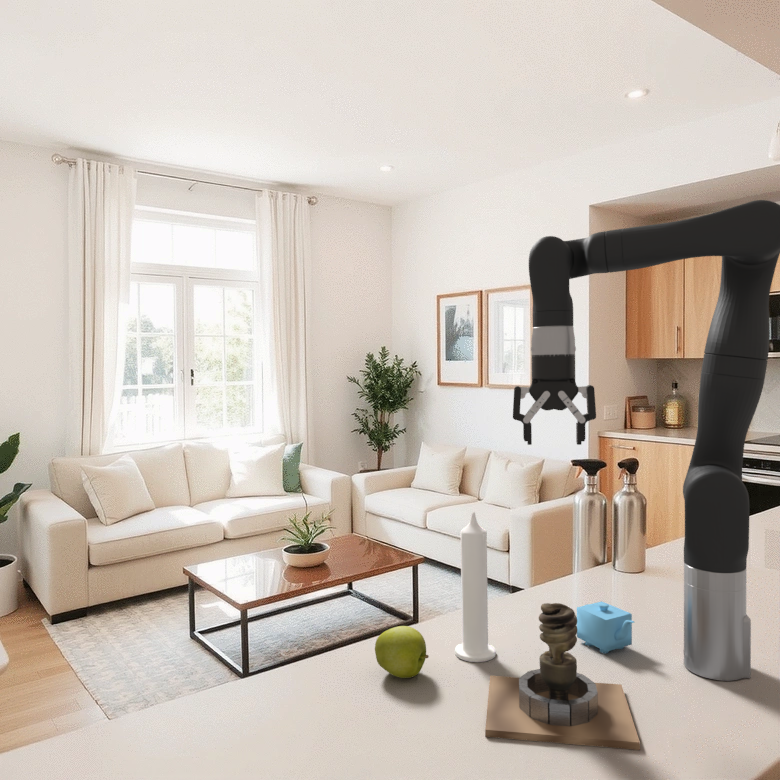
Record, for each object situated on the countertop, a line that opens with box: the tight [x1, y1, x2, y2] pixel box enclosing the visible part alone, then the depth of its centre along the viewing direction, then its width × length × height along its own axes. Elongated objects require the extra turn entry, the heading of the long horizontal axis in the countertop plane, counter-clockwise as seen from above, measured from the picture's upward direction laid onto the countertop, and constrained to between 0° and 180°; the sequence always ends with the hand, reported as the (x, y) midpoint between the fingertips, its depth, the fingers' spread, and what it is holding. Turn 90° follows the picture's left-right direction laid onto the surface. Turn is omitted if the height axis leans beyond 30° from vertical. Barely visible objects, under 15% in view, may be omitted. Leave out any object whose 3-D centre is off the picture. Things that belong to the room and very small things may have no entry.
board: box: [484, 675, 641, 751], centre depth 98 cm, size 20×16×1 cm
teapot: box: [576, 600, 636, 654], centre depth 119 cm, size 12×6×8 cm, turn 28°
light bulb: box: [538, 602, 578, 701], centre depth 97 cm, size 6×6×15 cm
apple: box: [374, 625, 430, 679], centre depth 110 cm, size 8×9×8 cm
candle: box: [454, 511, 496, 663], centre depth 117 cm, size 7×7×25 cm
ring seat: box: [519, 668, 598, 727], centre depth 97 cm, size 11×11×3 cm
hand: (553, 444), depth 119 cm, fingers open, 8 cm apart
